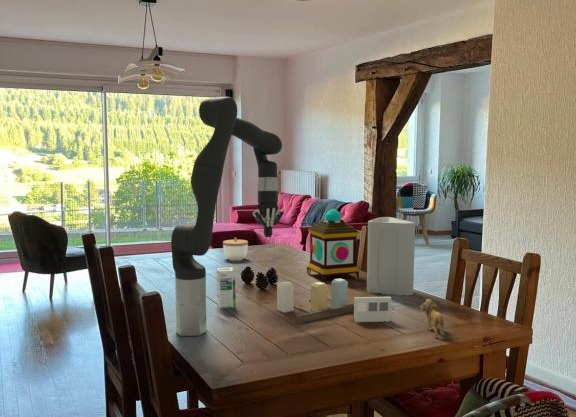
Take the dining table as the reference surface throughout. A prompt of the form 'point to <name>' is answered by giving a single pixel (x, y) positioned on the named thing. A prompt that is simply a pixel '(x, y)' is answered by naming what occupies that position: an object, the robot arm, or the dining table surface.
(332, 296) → the grey rounded cylinder
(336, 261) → the decorative lantern
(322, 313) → the wooden slatted rack
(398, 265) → the white paneled column
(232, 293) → the syrup box
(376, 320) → the tile
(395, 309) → the dining table surface
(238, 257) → the lidded bowl
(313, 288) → the ochre key
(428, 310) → the lion figurine
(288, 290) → the ivory key
